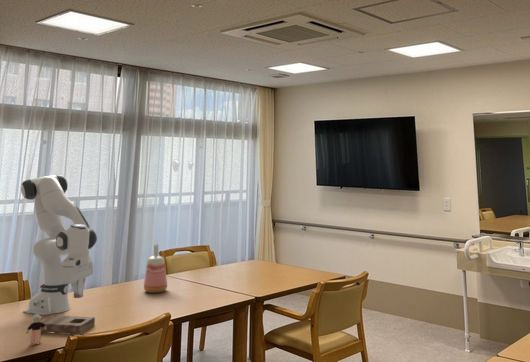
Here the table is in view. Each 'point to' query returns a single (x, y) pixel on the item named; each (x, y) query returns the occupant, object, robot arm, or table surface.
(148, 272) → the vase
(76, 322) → the peg board
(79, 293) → the peg
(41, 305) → the robot arm
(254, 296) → the table surface
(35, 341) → the grandmother figurine
